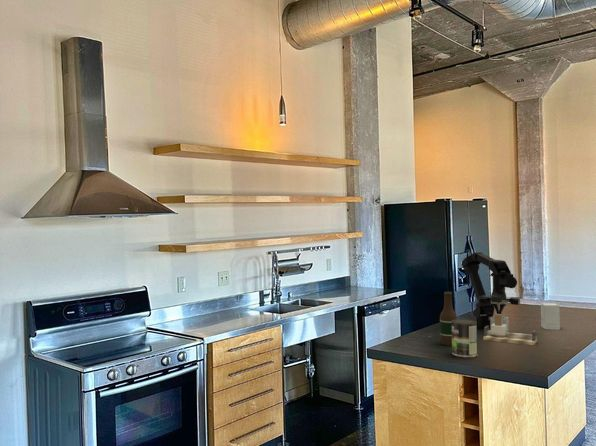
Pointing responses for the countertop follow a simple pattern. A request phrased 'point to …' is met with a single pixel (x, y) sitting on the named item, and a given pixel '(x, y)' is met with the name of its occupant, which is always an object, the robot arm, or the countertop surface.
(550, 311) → the supplement box
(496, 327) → the carriage
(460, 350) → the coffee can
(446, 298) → the beer bottle
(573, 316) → the countertop surface
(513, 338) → the rail base
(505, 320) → the box
